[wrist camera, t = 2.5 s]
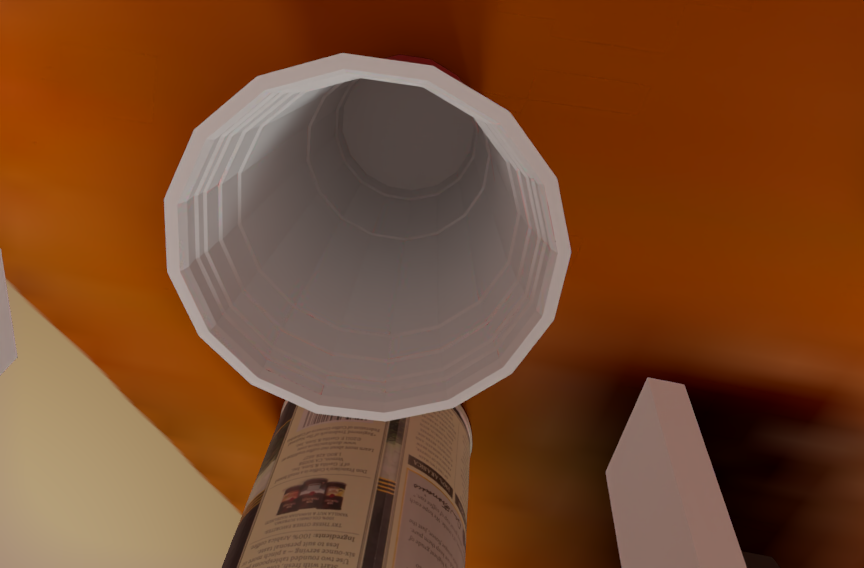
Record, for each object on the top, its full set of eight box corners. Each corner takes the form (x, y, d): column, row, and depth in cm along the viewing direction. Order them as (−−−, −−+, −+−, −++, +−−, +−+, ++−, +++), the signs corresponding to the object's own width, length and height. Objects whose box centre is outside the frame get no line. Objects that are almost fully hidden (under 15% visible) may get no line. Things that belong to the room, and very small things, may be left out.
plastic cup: (587, 187, 30) (631, 360, 20) (361, 276, 33) (297, 466, 23) (480, -75, 25) (464, -29, 15) (229, 58, 28) (74, 171, 18)
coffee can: (366, 528, 42) (310, 802, 30) (241, 414, 38) (118, 673, 26) (514, 456, 38) (519, 737, 26) (390, 321, 34) (328, 575, 22)
